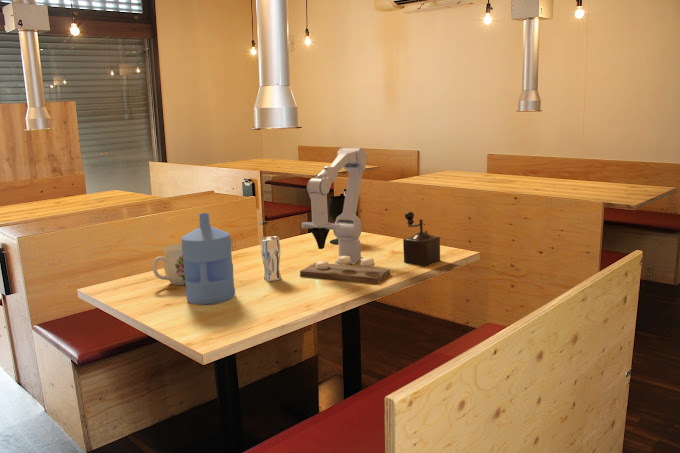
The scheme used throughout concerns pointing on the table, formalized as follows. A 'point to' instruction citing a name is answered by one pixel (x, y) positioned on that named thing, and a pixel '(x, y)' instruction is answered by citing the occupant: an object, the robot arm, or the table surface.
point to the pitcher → (172, 264)
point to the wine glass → (335, 210)
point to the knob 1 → (322, 265)
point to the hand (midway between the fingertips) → (321, 248)
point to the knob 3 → (367, 262)
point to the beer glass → (271, 257)
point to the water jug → (208, 264)
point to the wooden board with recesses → (347, 273)
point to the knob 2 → (344, 260)
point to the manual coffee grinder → (420, 245)
